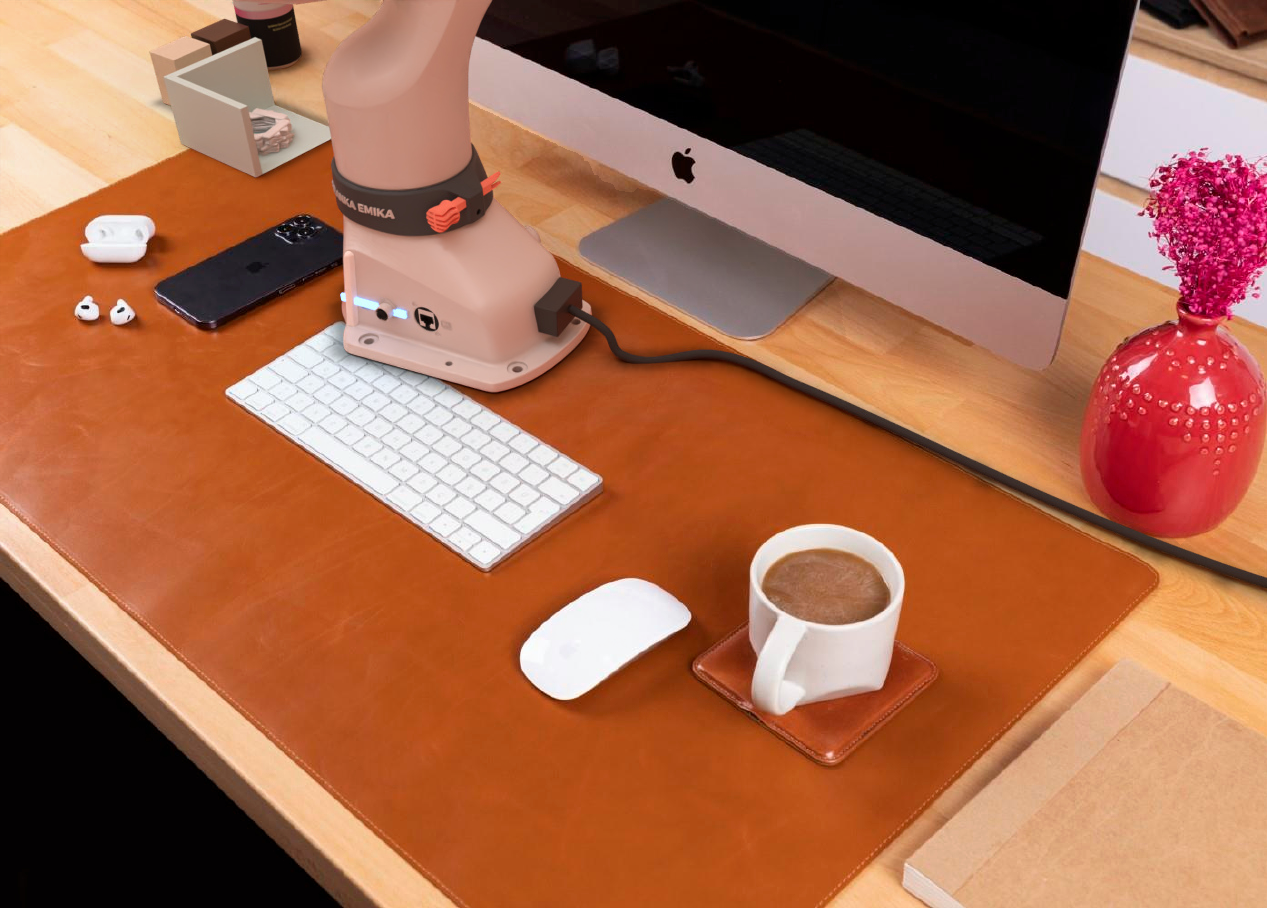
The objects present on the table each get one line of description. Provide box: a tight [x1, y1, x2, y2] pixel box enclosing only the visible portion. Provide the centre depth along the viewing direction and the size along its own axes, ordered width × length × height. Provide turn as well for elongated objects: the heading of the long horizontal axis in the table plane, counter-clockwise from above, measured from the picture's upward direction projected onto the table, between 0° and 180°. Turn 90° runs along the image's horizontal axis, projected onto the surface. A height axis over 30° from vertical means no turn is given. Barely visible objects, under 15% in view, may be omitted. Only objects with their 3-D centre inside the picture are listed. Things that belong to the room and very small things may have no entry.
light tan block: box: [149, 35, 212, 107], centre depth 140 cm, size 4×5×6 cm
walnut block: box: [190, 18, 251, 56], centre depth 144 cm, size 4×5×6 cm
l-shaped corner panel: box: [163, 37, 331, 178], centre depth 133 cm, size 12×12×8 cm
